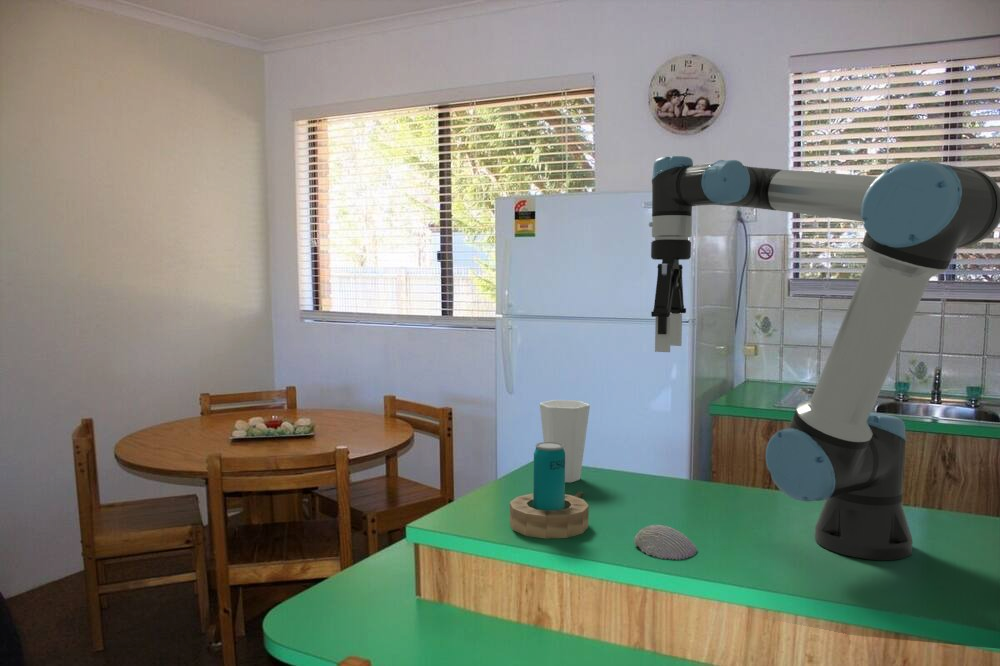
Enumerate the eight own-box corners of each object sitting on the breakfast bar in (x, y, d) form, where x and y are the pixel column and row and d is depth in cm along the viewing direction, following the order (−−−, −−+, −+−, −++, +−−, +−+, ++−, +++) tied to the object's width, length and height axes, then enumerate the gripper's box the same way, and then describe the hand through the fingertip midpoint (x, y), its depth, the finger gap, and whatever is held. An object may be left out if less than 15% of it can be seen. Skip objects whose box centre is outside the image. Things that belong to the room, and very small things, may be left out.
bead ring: (595, 518, 146) (595, 498, 145) (574, 542, 133) (574, 519, 133) (526, 509, 151) (526, 489, 151) (499, 532, 138) (499, 510, 138)
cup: (590, 474, 178) (591, 401, 177) (586, 486, 168) (588, 408, 167) (542, 471, 180) (543, 399, 179) (536, 483, 170) (536, 406, 169)
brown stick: (582, 494, 161) (582, 492, 161) (562, 514, 148) (562, 511, 148) (578, 494, 162) (578, 491, 162) (558, 513, 149) (558, 510, 149)
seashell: (630, 520, 136) (687, 511, 135) (636, 550, 136) (693, 541, 135) (632, 539, 126) (694, 529, 124) (639, 571, 126) (701, 562, 125)
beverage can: (570, 526, 141) (571, 446, 140) (546, 532, 138) (546, 450, 137) (551, 518, 146) (552, 440, 145) (526, 523, 143) (527, 444, 141)
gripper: (663, 241, 162) (660, 342, 163) (638, 236, 138) (636, 353, 140) (699, 241, 159) (697, 343, 160) (680, 235, 136) (678, 355, 137)
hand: (668, 348), depth 150 cm, fingers open, 13 cm apart
